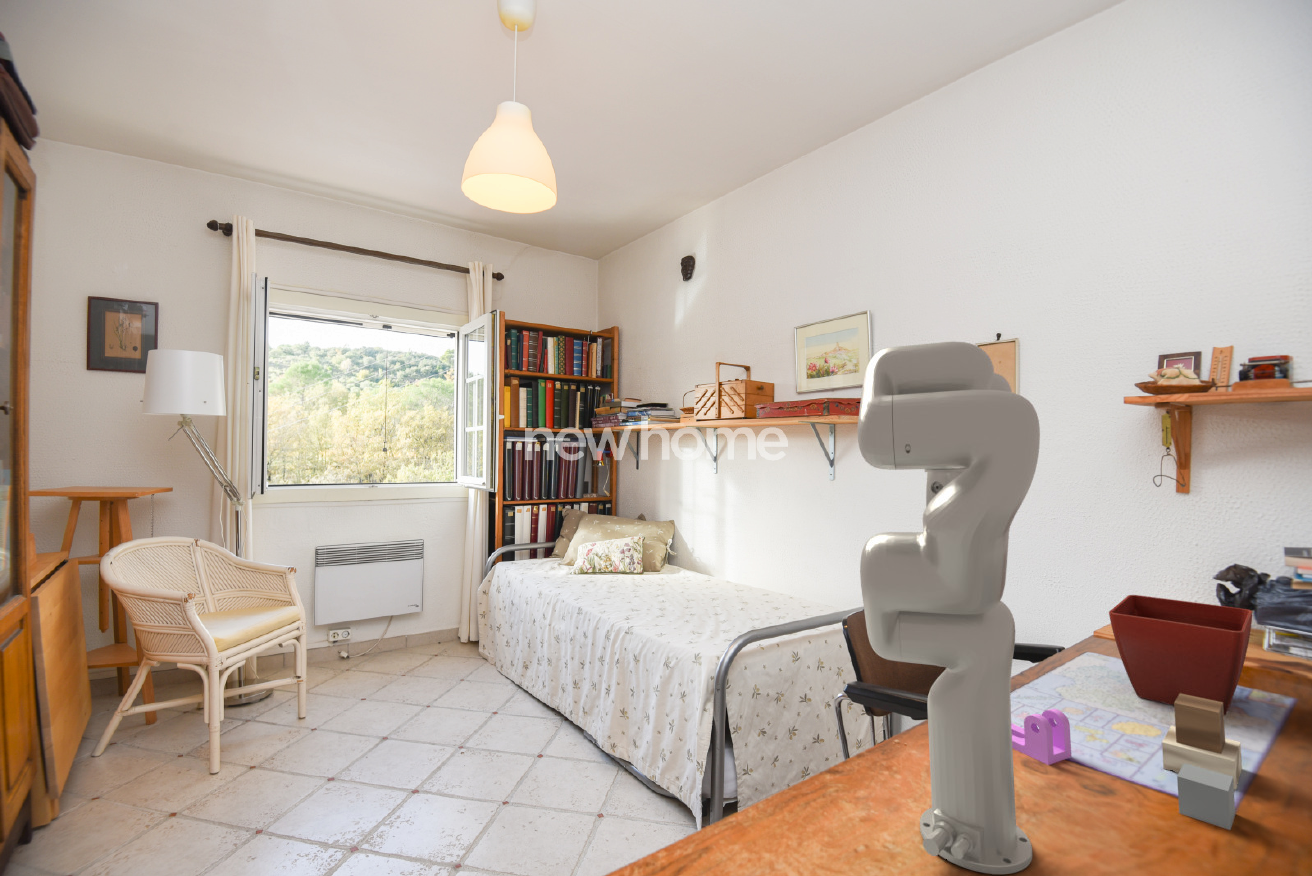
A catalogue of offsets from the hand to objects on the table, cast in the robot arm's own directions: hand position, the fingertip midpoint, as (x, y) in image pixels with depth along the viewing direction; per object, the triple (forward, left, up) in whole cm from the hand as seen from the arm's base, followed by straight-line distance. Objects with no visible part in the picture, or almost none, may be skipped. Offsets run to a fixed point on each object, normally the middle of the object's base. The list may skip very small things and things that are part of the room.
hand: (952, 562), depth 103 cm
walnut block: (+16, -29, -26) cm, 42 cm away
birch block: (+16, -29, -30) cm, 45 cm away
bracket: (+6, -7, -31) cm, 32 cm away
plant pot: (+47, -23, -31) cm, 61 cm away
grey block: (+2, -31, -30) cm, 43 cm away
